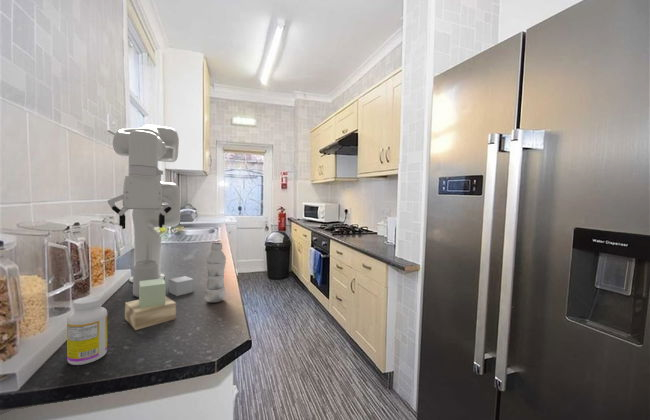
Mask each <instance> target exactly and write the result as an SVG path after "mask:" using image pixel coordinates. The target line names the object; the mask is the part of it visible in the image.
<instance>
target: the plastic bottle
mask: <svg viewBox="0 0 650 420" xmlns="http://www.w3.org/2000/svg"><path fill="white" fill-rule="evenodd" d="M205 261H206V262H205V263H206V269H207V271H206V273H207V282H206V288H205V294H204V297H205V300H206V301H207V302H208V303H214V304H215V303H220V302H222V301H224V299H225V297H226V289H225V279H224V278H225V269H226V262H227V258H226V255H225V254H224V252H223V243H222V242H213V243H210V252H209V253H208V255H207V256H206V259H205Z"/></svg>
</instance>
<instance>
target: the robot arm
mask: <svg viewBox="0 0 650 420" xmlns="http://www.w3.org/2000/svg"><path fill="white" fill-rule="evenodd" d="M179 142H180V140H179V135H178V131H176V130H175V128H172V127H168V126H161V125H155V124H144V125H141V126H140V127H135V128H121V129H118V130H117V131H116V132H115V133H114V135H113V137H112V149H113V150H114V152H115V154H117V155H119V156H123V157H128V175H125V176H124V182H123V190H122V194H120V195H118V196H116V197H113V198H110V199H108V200H107V204H108V206H109V207H110V208H111V209H112V211H114V212H115V213H116V215H117V214H118V215H119V218H118V219H119V220H118V222H119V223H118V225H119V226H118V227H121V228H122V230H125V229H126V215H125V213H127V212H128V211H129V210H132V213H131V214H132V215H131V217H132V222H133V230H134V231H133V233H134V235H133V236H134V244H133V245H134V249H133V253H134V255H133V263H134V264H133V267H134V266H135V265H136V262H138V261H144V260H154V261H156V264H157V265H158V279H162V278H163V279H164V278H165V276H166V275H165V274H164V273H162V272H161V269H162V268H161V267H162V263H161V261H162V258H161V257H162V236H161V234H160V233H159V232H158V231H157V230H156V229H155V228H160V229H162V228H170V227H171V228H172V227H173V228H174V227H178V226H179V224H180V222H181V190H180V187H179V185H178V184H177V183H175V182H168V181H166V182H165V181H162V175H164V170H162V169H160V168H159V162H163V163H165V162H166V163H174V162H176V161H177V160H178V157H179ZM120 201H122V206H123V207H122V208H121V209H120V208H119V207H118V206H117V205H116V203H117V202H120ZM129 282H130V283H133V275H132V276H130V277H129Z"/></svg>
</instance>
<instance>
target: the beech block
mask: <svg viewBox="0 0 650 420" xmlns="http://www.w3.org/2000/svg"><path fill="white" fill-rule="evenodd" d="M124 303H125V304H124V319H125V320H126V322H128V323H129V325H130V326H131V327H132V328H133V329H134V330H135V331H137V330H140V329H145V328H147V327H151V326H154V325H159V324H162V323H166V322H170V321H172V320H173V321H174V320H176V316H177V313H176V312H177V302H176V301H174V300H172V299H171V298H170V297H168V296H165V304H164V305H158V306H152V307H146V308H140V304H139V299H134V300H130V301H125V302H124Z"/></svg>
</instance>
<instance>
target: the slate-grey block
mask: <svg viewBox="0 0 650 420" xmlns="http://www.w3.org/2000/svg"><path fill="white" fill-rule="evenodd" d="M168 293H170V294H171V295H175V296H176V297H178V296H183V295H186V294H187V295H188V294H190V293H194V278H191V277H189V276H186V275H184V276H183V275H182V276H178V277H174V278H170V279H168Z"/></svg>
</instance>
